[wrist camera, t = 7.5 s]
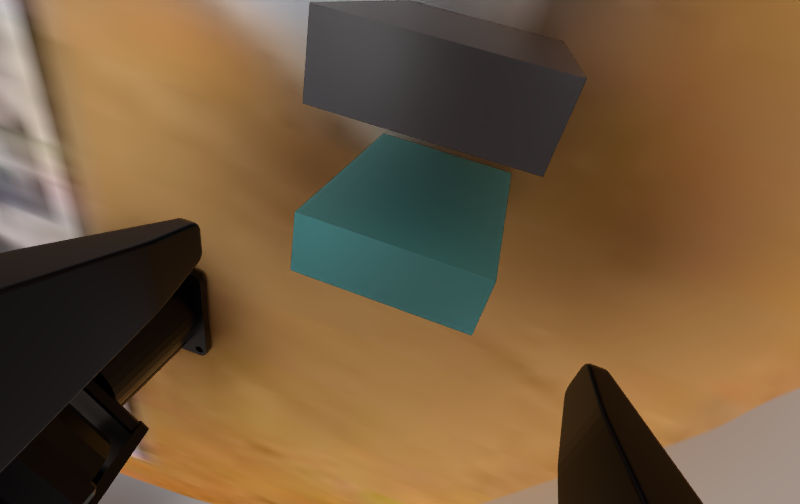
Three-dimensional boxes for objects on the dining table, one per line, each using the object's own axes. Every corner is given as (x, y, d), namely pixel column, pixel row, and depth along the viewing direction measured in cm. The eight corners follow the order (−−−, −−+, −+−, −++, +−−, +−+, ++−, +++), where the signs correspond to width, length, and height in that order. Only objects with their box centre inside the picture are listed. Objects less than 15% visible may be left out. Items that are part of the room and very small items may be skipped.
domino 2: (494, 215, 16) (471, 335, 10) (375, 176, 17) (290, 270, 11) (511, 173, 15) (496, 281, 9) (383, 133, 16) (294, 211, 10)
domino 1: (540, 100, 13) (543, 177, 8) (397, 60, 14) (302, 103, 8) (563, 41, 12) (587, 78, 7) (408, 0, 13) (310, 2, 7)
